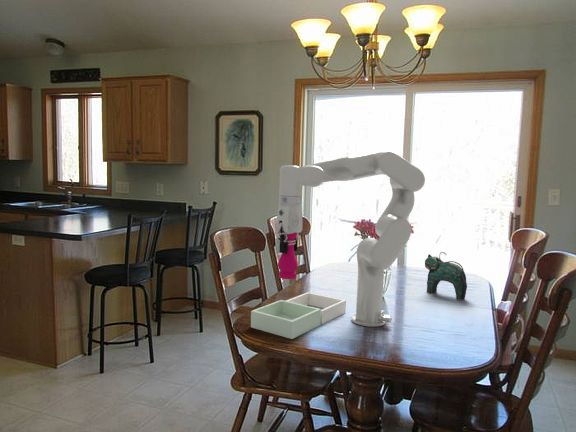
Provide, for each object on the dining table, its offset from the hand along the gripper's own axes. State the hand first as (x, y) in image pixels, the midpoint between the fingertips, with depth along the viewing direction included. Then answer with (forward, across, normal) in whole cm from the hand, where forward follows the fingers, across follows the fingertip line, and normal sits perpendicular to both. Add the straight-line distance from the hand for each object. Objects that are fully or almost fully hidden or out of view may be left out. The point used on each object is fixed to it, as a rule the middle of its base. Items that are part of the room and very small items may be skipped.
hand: (288, 251), depth 166 cm
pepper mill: (+10, 0, 0) cm, 10 cm away
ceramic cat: (+28, +81, -32) cm, 91 cm away
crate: (+27, +19, 0) cm, 33 cm away
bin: (+27, 0, 0) cm, 27 cm away
